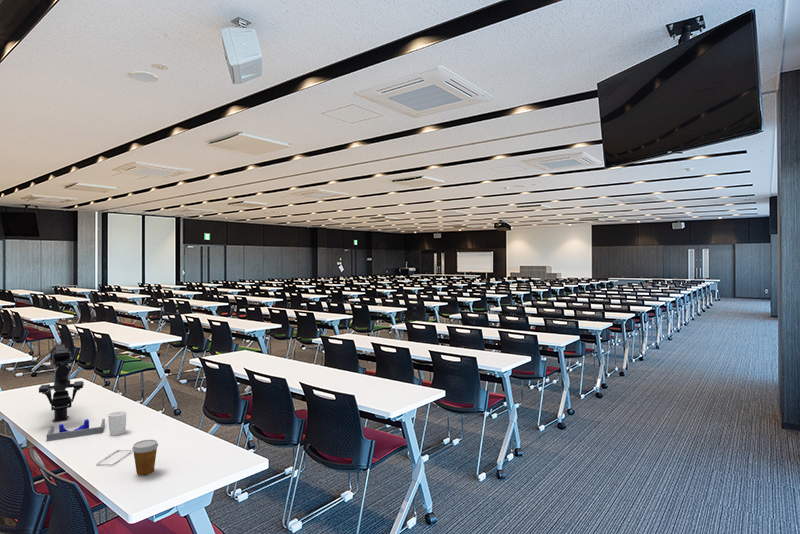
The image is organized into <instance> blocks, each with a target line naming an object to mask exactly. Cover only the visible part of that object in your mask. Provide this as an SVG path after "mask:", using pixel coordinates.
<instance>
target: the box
mask: <svg viewBox="0 0 800 534" xmlns="http://www.w3.org/2000/svg"><path fill="white" fill-rule="evenodd" d="M105 420H106V419H105V418H102V420H101V424H100V426H96V427H89V428H88V429H81V430H75V429H73V430H74V431H73V430H68V431H67V432H60V433H59V432H55V430H54V429H55V425H51V426H50V427H49V430H48V432H47V433H46V442H49V441H58V440H65V439H70V438H79V437H85V436H91V435H98V434H99V435H100V434H103V433H104V430H105V425H106V421H105Z"/></svg>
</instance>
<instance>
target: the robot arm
mask: <svg viewBox="0 0 800 534" xmlns="http://www.w3.org/2000/svg"><path fill="white" fill-rule="evenodd" d="M72 354H73V353H72V352H71V350H70V349H69V348H68V347H66V344H65V343H62V344H60V343H59V344H55V345H54V346H53V348H51V350H50V351H49V360H50V361H51V365H52V366H53V367H54V382H53V385H50V383H49V384H48V383H47V384H42V385H40V387H38V393H39V394H40V393H41V394H42V395H45V396H46V398H47V399H48V402H49V404H50V410H51V411H53V413H54V416H53V417H54V418H53V420H52V423H54V422H55V423H56V422H62V421H68V419H69V417H70V416H69V415H68V409H70V408H71V407H72V405H73V404H72V403H73V402H74V400H75V397H76V394H77V392H78V391H80V390H81V389H83V388H84V386H85V383H84V381H83V380H80V381H79V380H77V381H74V383H71V380H70V379H69V374H70V368H69V364H70V363H71V364H72V361H73V355H72ZM70 388H73V389H72V396H69V395H70V394H69V391H68V390H67V389H70ZM52 390H53V391H54V393H53V394H52Z"/></svg>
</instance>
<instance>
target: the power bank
mask: <svg viewBox="0 0 800 534" xmlns="http://www.w3.org/2000/svg"><path fill="white" fill-rule="evenodd" d="M119 451H120V452H123V451H124V452H127V453H125V455H123V456H122V457H120V458H119V459H117V460H115V461H114V462H112V463H101V462H103V461H105V459H106V460H108V459H109V458H110V457H112V456H113V454H114V453H115V454H117V453H120V452H119ZM132 451H133V450H132V449H116V450H115V451H113V452H111V453H110V454H109V455H107V456H105V457H104V458H102V459H101V460H100V461H97V462H96V465H95V466H96V467H100V466H99V465H113V464H115V463H116V462H118V461H119V462H120V460H121V459H122V458H124V457H125V456H126V457H128V456H129V455H131V454H132V453H133V452H132ZM116 452H117V453H116ZM131 452H132V453H131ZM130 453H131V454H130ZM115 454H114V455H115ZM111 455H112V456H111ZM127 455H128V456H127ZM108 457H109V458H108ZM126 457H125V458H126ZM125 458H124V459H125ZM122 460H123V459H122ZM122 460H121V461H122ZM119 462H118V463H119ZM116 464H117V463H116ZM116 464H115V465H116ZM113 466H114V465H113Z"/></svg>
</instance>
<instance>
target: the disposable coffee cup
mask: <svg viewBox="0 0 800 534" xmlns="http://www.w3.org/2000/svg"><path fill="white" fill-rule="evenodd" d="M158 446H159V443H158V441H157V440H156V439H143V440H140V441H137V442H135V443H134V444H133V445H132V448H131V450H133V452H132V453H133V457H134V458H133V459H134V464H135V470H136V471H135V472H136V475H137V474H138V475H137V476H139V475H144V476H148V475H147V474H149V475H150V473H151V474H153V473H154V472H155V465H156V464H155V463H156V459H157V457H156V456H157V450H158ZM152 472H153V473H152Z"/></svg>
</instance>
